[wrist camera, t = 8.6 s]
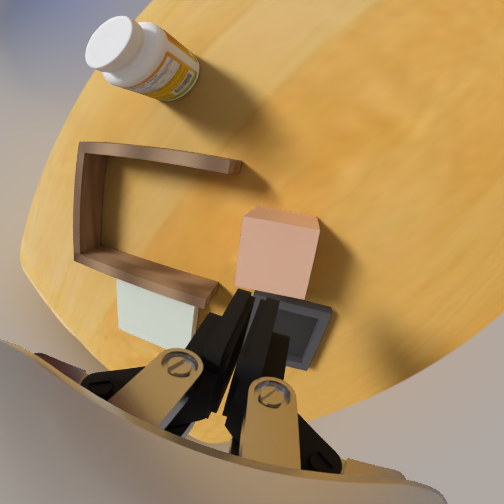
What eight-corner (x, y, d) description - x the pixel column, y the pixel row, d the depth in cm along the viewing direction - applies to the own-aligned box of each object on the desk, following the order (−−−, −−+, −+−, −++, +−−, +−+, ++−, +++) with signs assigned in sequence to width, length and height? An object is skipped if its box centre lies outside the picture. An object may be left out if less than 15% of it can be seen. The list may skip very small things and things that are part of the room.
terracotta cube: (316, 216, 22) (320, 230, 17) (305, 272, 23) (304, 299, 19) (256, 205, 22) (243, 216, 18) (248, 261, 24) (234, 285, 19)
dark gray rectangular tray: (330, 307, 24) (331, 313, 22) (307, 363, 26) (306, 370, 25) (256, 287, 24) (253, 293, 23) (241, 346, 27) (239, 353, 26)
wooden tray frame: (241, 161, 21) (230, 160, 18) (216, 291, 25) (204, 309, 22) (102, 142, 23) (79, 141, 20) (94, 250, 27) (74, 260, 24)
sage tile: (202, 286, 25) (196, 293, 24) (193, 349, 28) (188, 357, 27) (124, 261, 26) (116, 266, 25) (125, 322, 29) (118, 328, 28)
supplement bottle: (150, 57, 19) (84, 24, 10) (202, 45, 18) (148, -4, 9) (146, 106, 21) (72, 88, 12) (199, 98, 20) (136, 64, 11)
